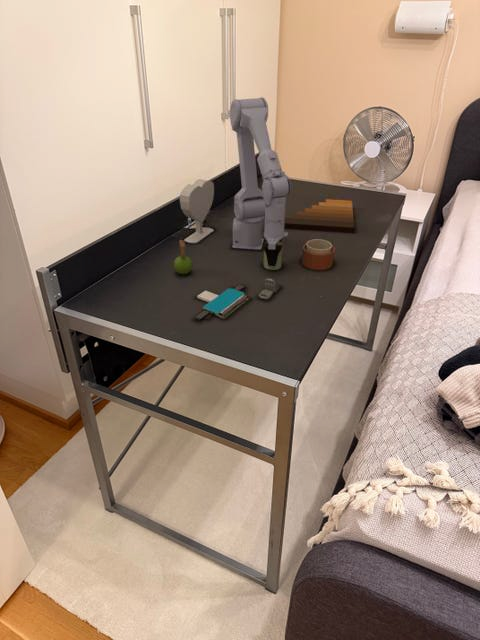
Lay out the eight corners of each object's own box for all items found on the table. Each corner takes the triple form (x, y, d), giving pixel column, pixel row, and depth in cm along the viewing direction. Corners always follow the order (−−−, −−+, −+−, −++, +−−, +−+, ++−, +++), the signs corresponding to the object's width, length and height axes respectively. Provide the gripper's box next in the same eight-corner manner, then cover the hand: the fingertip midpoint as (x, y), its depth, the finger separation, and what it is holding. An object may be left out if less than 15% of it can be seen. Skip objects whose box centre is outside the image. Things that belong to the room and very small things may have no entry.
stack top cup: (304, 267, 143) (306, 249, 140) (305, 256, 149) (306, 238, 146) (329, 269, 142) (332, 250, 139) (329, 258, 148) (331, 239, 145)
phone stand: (222, 280, 136) (222, 275, 135) (257, 292, 131) (257, 287, 130) (177, 311, 122) (177, 306, 122) (214, 326, 117) (214, 321, 116)
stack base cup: (301, 269, 142) (302, 254, 140) (302, 254, 150) (303, 240, 147) (333, 271, 141) (335, 256, 138) (332, 256, 149) (334, 242, 146)
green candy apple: (176, 280, 136) (173, 242, 130) (173, 270, 142) (170, 232, 135) (195, 277, 138) (192, 239, 131) (191, 267, 143) (188, 230, 136)
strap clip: (267, 301, 127) (268, 287, 125) (257, 298, 128) (257, 284, 126) (281, 287, 133) (281, 273, 131) (271, 284, 135) (272, 271, 132)
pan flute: (281, 228, 168) (353, 233, 164) (282, 219, 166) (354, 224, 162) (286, 203, 188) (350, 207, 185) (287, 195, 186) (351, 199, 183)
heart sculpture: (204, 225, 169) (202, 175, 159) (217, 228, 167) (215, 177, 157) (180, 241, 158) (176, 189, 148) (193, 244, 156) (190, 191, 146)
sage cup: (262, 269, 142) (263, 248, 138) (264, 261, 147) (265, 240, 143) (280, 270, 142) (282, 249, 138) (282, 262, 146) (283, 241, 142)
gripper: (287, 229, 129) (284, 273, 137) (290, 210, 141) (287, 251, 149) (261, 227, 130) (260, 271, 138) (266, 208, 142) (265, 250, 149)
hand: (272, 261), depth 143 cm, fingers closed on sage cup, 5 cm apart
